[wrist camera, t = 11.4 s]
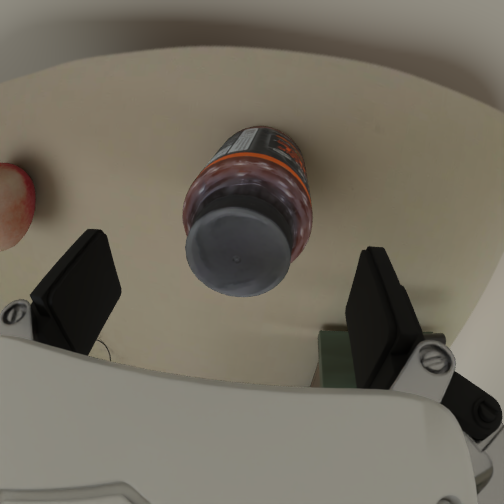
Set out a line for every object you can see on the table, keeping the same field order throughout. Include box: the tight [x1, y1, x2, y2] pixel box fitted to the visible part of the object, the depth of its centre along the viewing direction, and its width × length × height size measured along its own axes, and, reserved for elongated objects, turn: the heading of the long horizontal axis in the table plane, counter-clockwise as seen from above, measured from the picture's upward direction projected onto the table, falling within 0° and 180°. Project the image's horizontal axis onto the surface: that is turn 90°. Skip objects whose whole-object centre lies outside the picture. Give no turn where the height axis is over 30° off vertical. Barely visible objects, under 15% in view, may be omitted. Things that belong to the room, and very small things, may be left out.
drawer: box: [310, 330, 446, 388], centre depth 26 cm, size 18×12×8 cm
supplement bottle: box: [183, 126, 313, 297], centre depth 16 cm, size 6×6×11 cm
